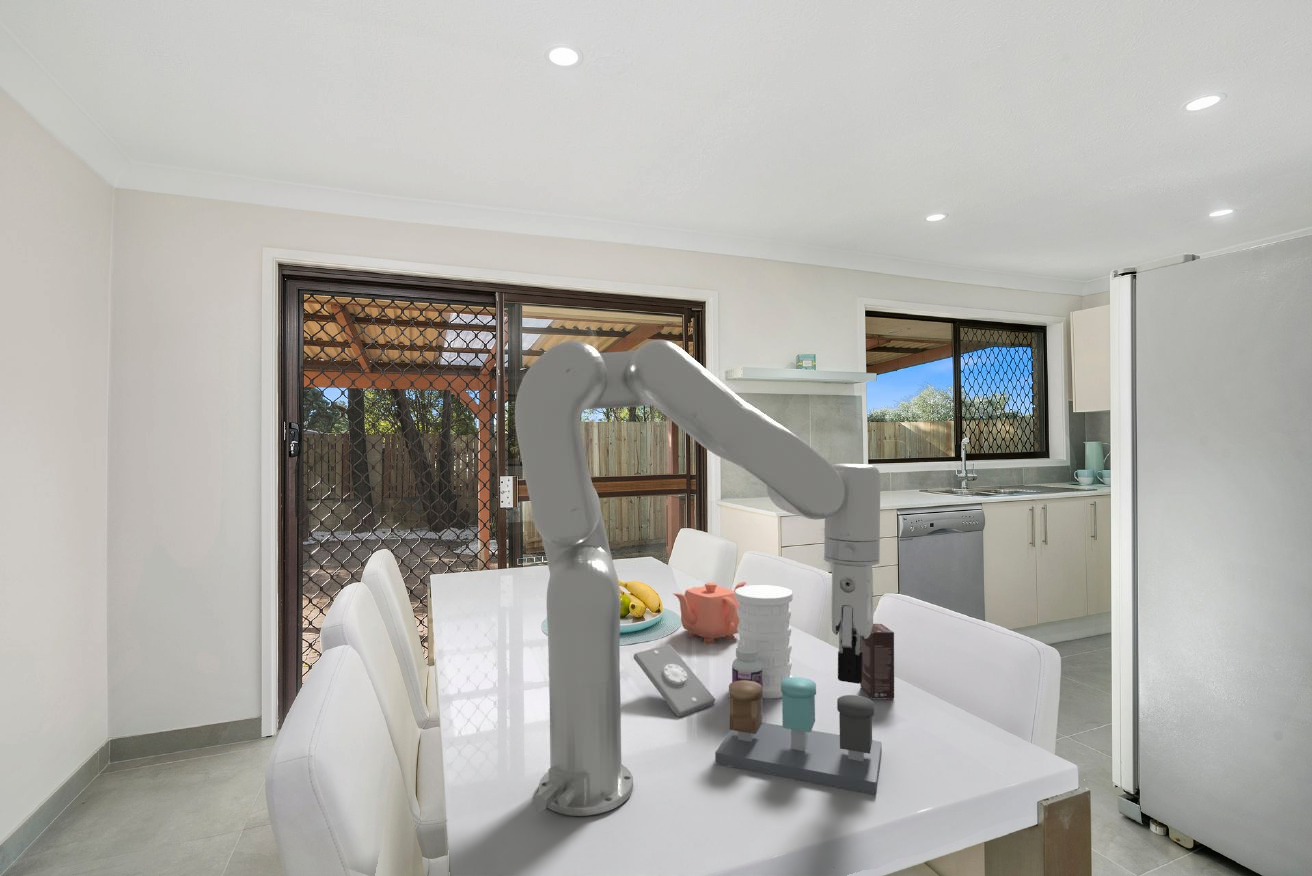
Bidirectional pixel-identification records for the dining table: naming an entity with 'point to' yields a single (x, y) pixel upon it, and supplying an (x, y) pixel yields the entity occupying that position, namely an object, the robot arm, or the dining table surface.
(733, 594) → the teapot
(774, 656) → the decorative container
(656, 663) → the light switch
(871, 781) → the panel
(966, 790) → the dining table surface
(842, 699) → the dark grey round-topped block
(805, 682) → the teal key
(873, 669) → the box
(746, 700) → the walnut key
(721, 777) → the dining table surface
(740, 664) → the pill bottle
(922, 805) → the dining table surface
